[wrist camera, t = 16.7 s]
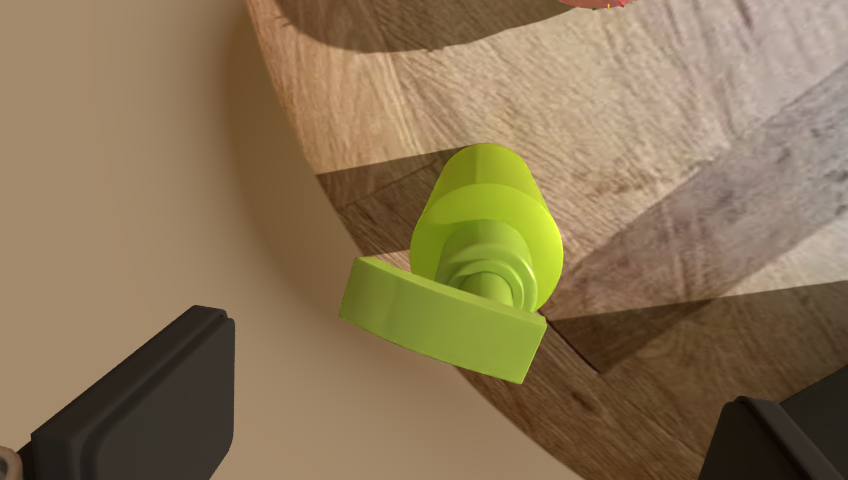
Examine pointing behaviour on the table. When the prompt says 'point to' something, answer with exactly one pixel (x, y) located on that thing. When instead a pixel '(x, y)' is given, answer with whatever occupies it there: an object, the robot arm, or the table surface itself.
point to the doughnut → (596, 3)
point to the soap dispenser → (468, 270)
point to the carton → (824, 417)
